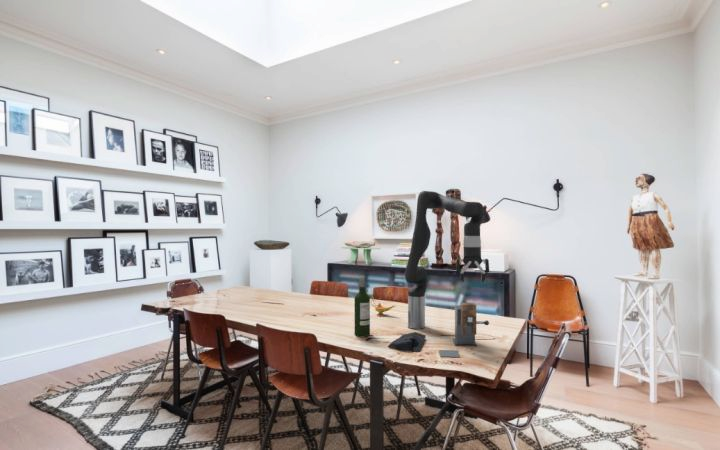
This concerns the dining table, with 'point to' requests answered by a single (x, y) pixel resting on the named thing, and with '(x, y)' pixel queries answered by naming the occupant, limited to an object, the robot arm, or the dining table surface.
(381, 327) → the dining table surface
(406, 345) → the dark slate chunk
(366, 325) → the wine bottle
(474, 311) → the slotted wooden collar
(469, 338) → the vise stand
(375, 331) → the dining table surface
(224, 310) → the dining table surface
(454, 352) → the felt pad
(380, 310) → the magic lamp
